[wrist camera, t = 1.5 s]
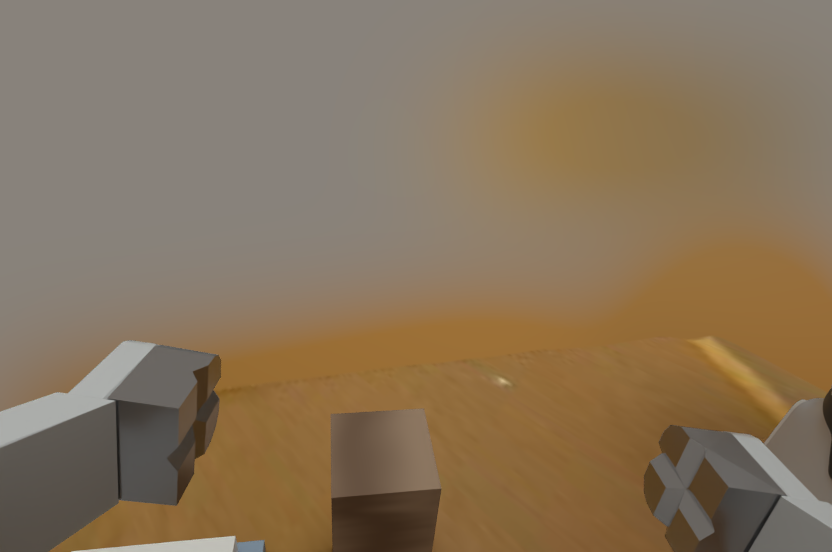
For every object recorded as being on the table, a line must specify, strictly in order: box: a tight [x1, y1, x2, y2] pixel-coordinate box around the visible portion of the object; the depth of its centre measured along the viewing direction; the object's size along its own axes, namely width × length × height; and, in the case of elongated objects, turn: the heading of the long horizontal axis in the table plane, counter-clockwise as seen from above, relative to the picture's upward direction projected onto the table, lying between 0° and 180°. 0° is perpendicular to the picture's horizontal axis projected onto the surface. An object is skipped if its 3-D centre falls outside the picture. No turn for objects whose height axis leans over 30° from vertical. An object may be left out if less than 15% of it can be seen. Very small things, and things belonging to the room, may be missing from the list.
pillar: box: [331, 409, 441, 552], centre depth 28 cm, size 5×5×12 cm
